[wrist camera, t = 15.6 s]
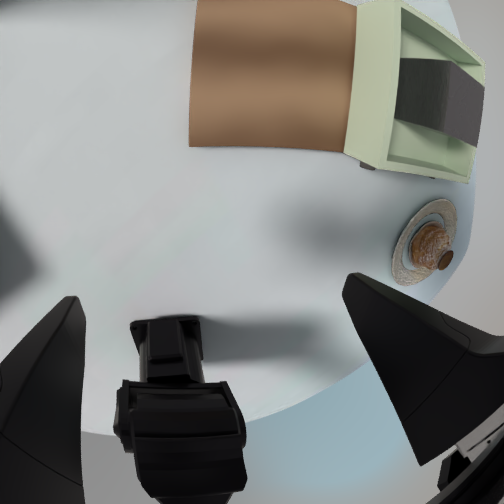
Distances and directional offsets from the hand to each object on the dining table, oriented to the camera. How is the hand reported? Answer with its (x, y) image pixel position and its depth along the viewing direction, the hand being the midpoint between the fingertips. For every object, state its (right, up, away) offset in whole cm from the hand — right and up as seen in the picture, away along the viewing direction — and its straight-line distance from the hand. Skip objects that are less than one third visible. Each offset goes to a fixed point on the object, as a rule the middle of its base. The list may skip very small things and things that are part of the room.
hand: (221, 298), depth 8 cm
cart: (+14, +14, +8) cm, 21 cm away
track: (+9, +14, +8) cm, 19 cm away
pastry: (+21, +3, +20) cm, 30 cm away
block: (+14, +14, +7) cm, 21 cm away
